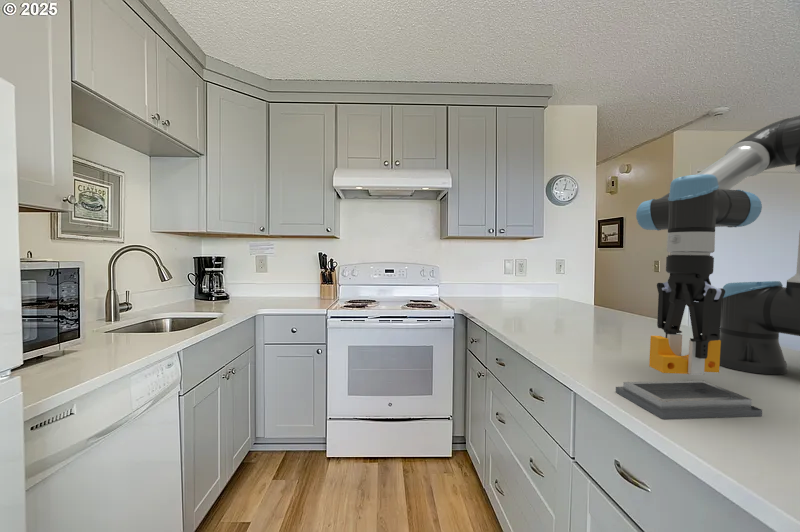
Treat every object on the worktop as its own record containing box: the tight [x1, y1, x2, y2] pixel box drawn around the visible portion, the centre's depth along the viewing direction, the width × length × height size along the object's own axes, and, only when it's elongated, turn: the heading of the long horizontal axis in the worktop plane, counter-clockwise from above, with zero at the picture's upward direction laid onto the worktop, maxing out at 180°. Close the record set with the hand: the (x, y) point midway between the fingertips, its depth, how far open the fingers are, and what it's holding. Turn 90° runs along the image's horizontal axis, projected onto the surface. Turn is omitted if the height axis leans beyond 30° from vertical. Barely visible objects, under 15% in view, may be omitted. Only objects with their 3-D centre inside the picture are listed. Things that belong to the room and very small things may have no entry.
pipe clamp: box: [649, 335, 721, 375], centre depth 75 cm, size 12×4×6 cm, turn 87°
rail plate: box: [615, 379, 763, 420], centre depth 75 cm, size 20×13×3 cm, turn 95°
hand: (684, 369), depth 75 cm, fingers closed on pipe clamp, 5 cm apart
